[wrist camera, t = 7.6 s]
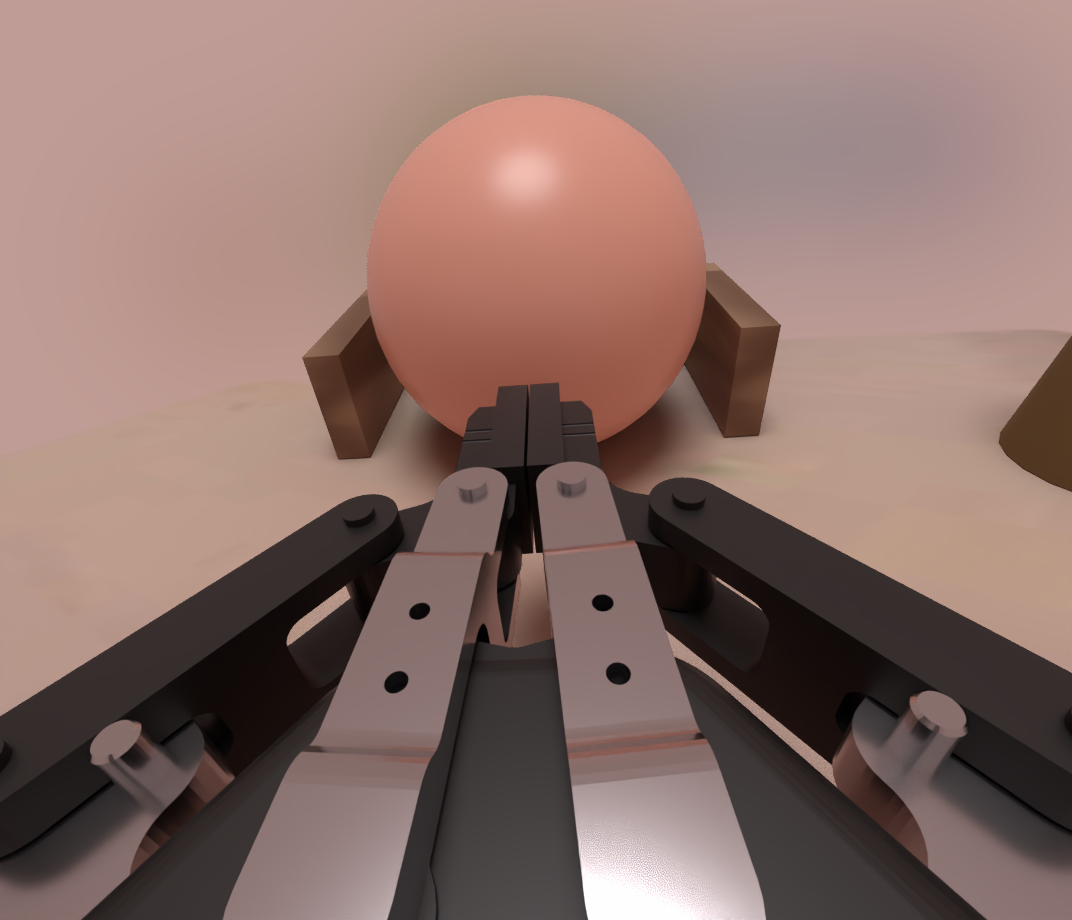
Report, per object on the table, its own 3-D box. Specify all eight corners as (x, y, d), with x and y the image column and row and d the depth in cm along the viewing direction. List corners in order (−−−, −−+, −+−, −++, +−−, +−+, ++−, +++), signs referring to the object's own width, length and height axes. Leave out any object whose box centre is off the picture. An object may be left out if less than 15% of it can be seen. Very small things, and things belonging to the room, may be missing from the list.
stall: (338, 458, 24) (302, 357, 21) (388, 370, 32) (367, 288, 29) (758, 435, 23) (780, 325, 20) (703, 350, 31) (713, 262, 28)
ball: (238, 219, 12) (360, 61, 20) (393, 523, 22) (432, 334, 30) (814, 181, 11) (697, 34, 20) (703, 512, 21) (656, 323, 30)
